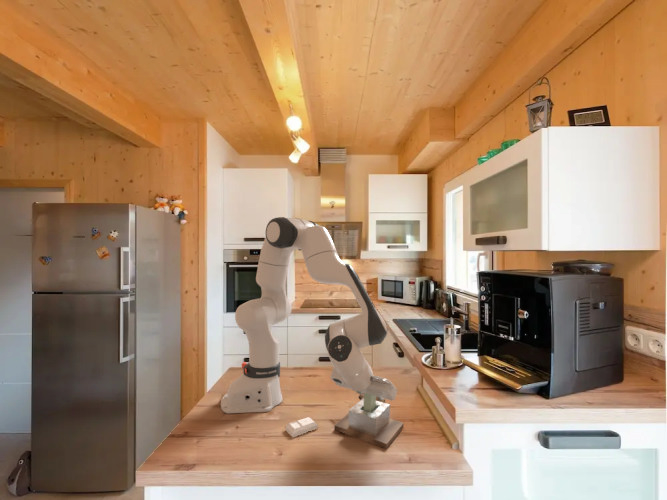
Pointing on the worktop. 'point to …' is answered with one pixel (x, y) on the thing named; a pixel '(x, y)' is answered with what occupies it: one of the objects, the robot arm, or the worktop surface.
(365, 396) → the sage slat
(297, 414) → the worktop surface
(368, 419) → the grey slotted block
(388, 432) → the walnut board
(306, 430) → the soap bar
